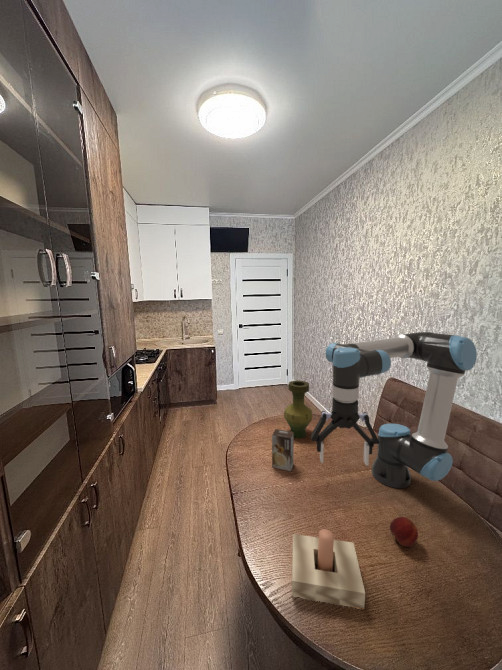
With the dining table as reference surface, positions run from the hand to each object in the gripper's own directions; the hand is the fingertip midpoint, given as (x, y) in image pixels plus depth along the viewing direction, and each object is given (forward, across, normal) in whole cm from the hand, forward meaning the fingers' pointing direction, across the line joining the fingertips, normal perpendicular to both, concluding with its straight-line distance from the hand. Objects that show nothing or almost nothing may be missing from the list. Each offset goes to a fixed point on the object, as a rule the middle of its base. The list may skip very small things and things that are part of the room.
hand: (343, 461), depth 85 cm
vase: (+27, +13, -63) cm, 70 cm away
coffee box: (+26, +20, -33) cm, 47 cm away
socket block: (+26, +8, +15) cm, 31 cm away
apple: (+27, -19, 0) cm, 33 cm away
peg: (+26, +7, +15) cm, 31 cm away
